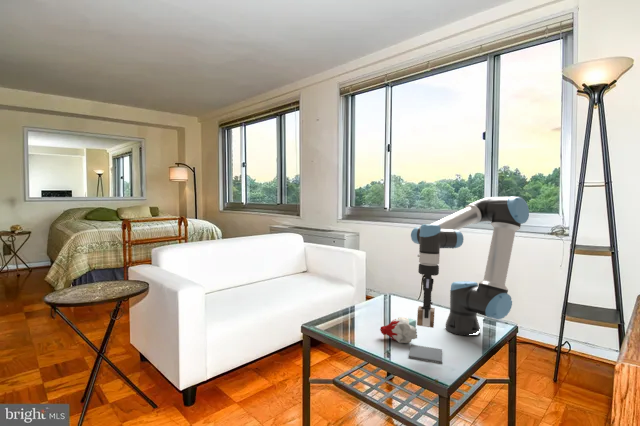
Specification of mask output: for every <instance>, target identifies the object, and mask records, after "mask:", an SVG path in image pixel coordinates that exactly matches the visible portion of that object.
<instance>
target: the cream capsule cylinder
mask: <svg viewBox="0 0 640 426" xmlns="http://www.w3.org/2000/svg"><path fill="white" fill-rule="evenodd" d="M408 318H409V317H408ZM408 318H407V317H403V316H401V317H398V318H397V320H399V319H403V320H406V321H407V322H408V323H409V319H410V318H409V319H408Z"/></svg>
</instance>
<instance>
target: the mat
mask: <svg viewBox="0 0 640 426" xmlns="http://www.w3.org/2000/svg"><path fill="white" fill-rule="evenodd" d="M408 359H413V360H418V361H425V362H432V363H435V364H441V365H442V364H443V349H442V348H437V347H430V346H423V345H416V344H411V345H410V348H409V352H408Z"/></svg>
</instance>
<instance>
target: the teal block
mask: <svg viewBox="0 0 640 426" xmlns="http://www.w3.org/2000/svg"><path fill="white" fill-rule="evenodd" d="M408 319H409V325H411V326H413V327H415V328H416V329H417V327H416V326H417V320H416V319H412V318H409V317H408Z"/></svg>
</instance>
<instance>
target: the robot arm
mask: <svg viewBox="0 0 640 426" xmlns="http://www.w3.org/2000/svg"><path fill="white" fill-rule="evenodd" d="M529 217H530V208H529V205H528V203H527V202H526V200H525V199H524V198H523V197H521V196H490V197H484V198H481V199H479V200H476V201H474V202H471V203H469V204H467V205H465V206H464V208H463V209H460V210H459V211H457V212H454V213H452V214H450V215H447V216H446V217H444V218H441V219H440V220H436V221H435V222H432V223H423V224H421V225H420V226H416V227H414V228H413V229H412V230H411V233H410V238H411V241H412V242H413V243H414V244H418V245H419V249H418V250H419V251H418V252H419V254H417V257H418V262H419V264H418V270H417V271H418V273H419V275H422V276H423V275H424V277H423V278H422V290H423V299H422V300H423V301H422V302H423V304H422V306H423V307H421V309H423V322H422V326H421V327H425V326H426V328H431V327H430V310H431V308H432V306H433V304H434V302H433V301H432V292H433V290H434V289H433V286H434V282H435V281H434V278H433V277H432V276H438V275H439V274H440V273H439V272H440V265H439V264H440V251H441V249H458V248H460V247H461V246H462V245H463V243H464V235H463V233H462V232H461V231H460V230H461V229H463V228H465V227H467V226H469V225H472V224H473V225H475V224H478V223H481V222H482V223H483V222H489V223H490V224H491V226H492V227H493V231H492V235H491V236H492V237H491V241H490V244H489V245H490V246H489V251H488V256H487V262H486V266H485V271H484V277H483V279H482V280H481V281H479V282H476V281H469V280H468V281H467V280H466V281H465V280H464V281H463V280H461V281H453V282H452V283H451V284H450V290H449V292H450V293H449V297H450V298H449V314H448V317H447V319H446V322H445V327H446V328H445V329H446V331H448V332H449V333H451V334H454V335H458V334H459V336H463V335H469V334H473V333H476V332H477V331H479V329H480V330H481V327H480V323H479V319H478V316H477V315H478V314H479V315H482V316H485V317H487V318H489V319H495V320H502V319H504V318H506V317H507V316H508V314H509V313H510V312H511V309H512V306H513V300H512V299H513V298H512V296H511V295H510V294H509V293H508V292H509V289H508V288H507V286H506V281H507V276H508V272H509V266H510V261H511V255H512V250H513V246H514V245H513V244H514V241H515V235H516V232H517V231H518V230H520V229H521V226H522V224H525V223H526V222H528V220H529Z"/></svg>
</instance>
